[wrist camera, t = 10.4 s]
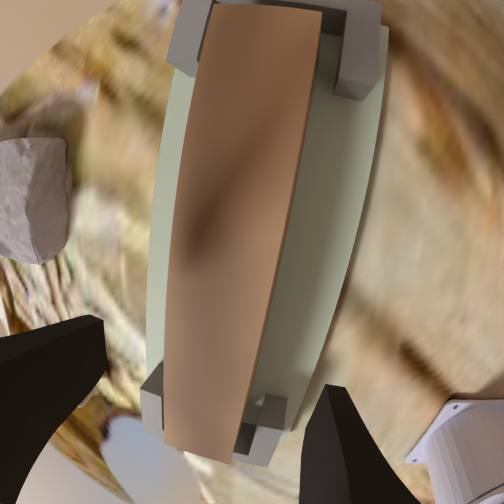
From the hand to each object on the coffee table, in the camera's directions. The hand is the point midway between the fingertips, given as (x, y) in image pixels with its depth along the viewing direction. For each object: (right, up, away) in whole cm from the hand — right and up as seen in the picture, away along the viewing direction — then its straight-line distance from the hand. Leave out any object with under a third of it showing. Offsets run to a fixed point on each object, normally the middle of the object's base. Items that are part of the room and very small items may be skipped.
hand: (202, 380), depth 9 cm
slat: (+1, +4, +8) cm, 8 cm away
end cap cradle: (+1, +4, +8) cm, 9 cm away
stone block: (-17, +8, +11) cm, 22 cm away
